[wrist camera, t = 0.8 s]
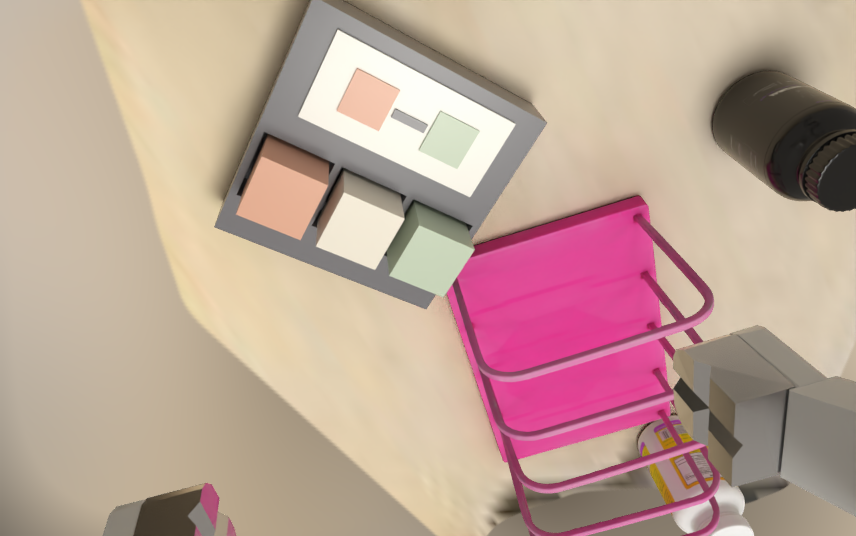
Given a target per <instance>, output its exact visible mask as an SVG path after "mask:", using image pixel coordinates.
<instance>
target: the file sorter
mask: <svg viewBox="0 0 856 536" xmlns="http://www.w3.org/2000/svg"><path fill="white" fill-rule="evenodd" d="M652 239H653V241H654V242H655V243H656V244H657V245H658V246H659V247H660V248H661V249H662V250H663V251H664V252H665V254H666V255H667V256H668V257H669V258H670V259H671V260H672V261H673V263H674V264H675V265H676V266H677V267H678V268H679V269H680V270H681V271H682V272H683V274H684V275H685V276H686V277H687V278H688V279H689V280H690V281H691V282H692V284H693V285H694V286H695V287H696V288H697V289H698V291H699V292H700V293H701V294H702V296H703V297H704V299H705V303H704V305H703V307H702V308H701V310H700V311H698V312H697V313H696V314H694V315H693V316H691V317H688V318H686V319H685V318H684V316H683V315H682V314H681V313H680V311H679V310H678V309H677V308H676V306H675V305H674V304H673V303H672V301H671V300H670V299H669V298H668V296H667V295H666V294H665V293H664V291H663V290H662V289H661V288H660V286H659V285H658V284H657V279H656V269H655V260H654V251H653V242H652ZM474 249H475V250H474V252H473V253H472V255H471V256H470V258H469V259H468V261H467V263H466V264H465V266H464V267H463V269H462V270H461V272H460V273H459V275H458V276H457V278H456V279H455V281H454V282H453V284H452V285H451V287H450V288H449V290H448V291H447V295H448V298H449V301H450V304H451V308H452V311H453V314H454V317H455V319H456V322H457V325H458V328H459V331H460V334H461V337H462V340H463V343H464V346H465V349H466V352H467V355H468V358H469V361H470V364H471V366H472V369H473V372H474V375H475V378H476V381H477V385H478V388H479V391H480V394H481V397H482V399H483V402H484V405H485V408H486V411H487V414H488V417H489V420H490V423H491V426H492V429H493V432H494V435H495V438H496V441H497V444H498V447H499V450H500V453H501V456H502V459H503V461H504V462H508V464H509V468H510V472H511V476H512V480H513V484H514V488H515V491H516V495H517V499H518V502H519V506H520V509H521V513H522V516H523V519H524V521H525V524H526V526H527V527H528V530H529V533H530V536H586V535H590V534H594V533H597V532H602V531H606V530H609V529H613V528H617V527H621V526H624V525H628V524H632V523H635V522H639V521H643V520H646V519H650V518H654V517H657V516H661V515H665V514H668V513H672V512H675V511H679V510H682V509H686V508H689V507H692V506H696V505H699V504H702V503H704V502H706V501H708V500H709V502H710V504H711V506H712V509H713V516H712V520H711V522H710V523H709V524H708V525H707V526H706V527H705V528H703V529H701V530H699V531H696V532H693V533H689V534H686V535H683V536H708V535H710V534H711V533H712V532H713V531H714V530H715V529H716V527H717V525H718V523H719V519H720V510H719V506H718V503H717V501H716V499H715V497H714V495H715V494H716V492H717V490H718V489H719V485H720V473H719V472H718V470H717V469H716V468H715V467H714V466H713V464H712V463H711V462H710V461H709V459H708V448H707V447H706V445H704V444H701V443H699V442H696V441H694V440H692V441H689V442H686V443H683V442H682V440H681V438H680V436H679V435H678V433H677V432H676V430H675V428H674V426H673V425H672V423H671V421H670V420H669V418H668V417H669V416H670V414H671V410H670V401H671V403H672V404H673V406H674V408H675V405H674V391H673V390H672V389H671V388H670V386H669V385H668V382H667V371H666V363H665V354H664V349H665V351H666V352H667V353H668V354H669V356H670V357H671V358H672V360H673V356H674V354H675V350H674V348H673V347H672V346H671V344H670V343H669V342H668V341H667V339H666V338H665V337H666V336H669V335H672V334H675V333H678V332H681V331H685V333H686V334H687V335H688V336H689V338H690V339H691V340H692V342H693V343H694V344H697V343H701V342H703V340H702V339H701V338H700V337H699V335H698V334H697V333H696V331H695V330H694V329H693V328H692V327H694V326H696V325H698V324H700V323H701V322H703V321H704V320H705V319H706V318H708V316H709V315H710V314H711V312H712V310H713V307H714V298H713V294H712V292H711V290H710V288H709V287H708V286H707V285H706V283H705V282H704V281H703V280H702V279H701V278H700V277H699V276H698V275H697V273H696V272H695V271H694V270H693V269H692V268H691V267H690V266H689V265H688V264H687V263H686V262H685V260H684V259H683V258H682V257H681V256H680V255H679V254H678V253H677V252H676V251H675V250H674V249H673V248H672V247H671V246H670V245H669V243H668V242H667V241H666V240H665V239H664V238H663V237H662V236H661V235H660V234H659V233H658V232H657V231H656V230H655V229H654V228H653V227H652V226H651V224H650V216H649V208H648V205H647V204H646V203H645V201H644V200H643V199H642V198H641V197H640V196H637V197H633V198H630V199H626V200H623V201H620V202H617V203H613V204H610V205H607V206H604V207H600V208H597V209H594V210H591V211H587V212H584V213H581V214H578V215H574V216H571V217H568V218H564V219H561V220H558V221H555V222H551V223H548V224H545V225H541V226H538V227H535V228H532V229H528V230H525V231H521V232H518V233H515V234H511V235H508V236H505V237H501V238H498V239H495V240H492V241H488V242H485V243H482V244H479V245H475V246H474ZM659 300H660V301H661V302H662V304H663V305H664V306H665V307H666V308H667V309H668V311H669V312H670V313H671V315H672V316H673V317H674V319H675V320H676V321H677V322H674V323H671V324H668V325H665V326H662V325H661V316H660V307H659ZM675 409H676V408H675ZM659 419H662V420H663V422H664V424H665V425H666V427H667V429H668V430H669V432H670V434H671V435H672V437H673V439H674V441H675V442H676V444H677V446H674V447H671V448H668V449H665V450H662V451H659V452H656V453H653V454H650V455H647V456H644V457H641V458H637V459H634V460H631V461H628V462H625V463H622V464H618V465H615V466H611V467H608V468H606V469H603V470H599V471H595V472H592V473H590V474H586V475H583V476H579V477H576V478H573V479H569V480H566V481H563V482H560V483H554V484H541V483H537V482H534V481H532V480H530V479H529V478H527V477H526V476H525V475H524V473H523V471H522V469H521V467H520V464H519V462H518V459H520V458H524V457H528V456H531V455H535V454H538V453H542V452H545V451H549V450H553V449H556V448H560V447H563V446H567V445H571V444H574V443H578V442H581V441H585V440H589V439H592V438H596V437H599V436H603V435H606V434H610V433H613V432H617V431H620V430H624V429H627V428H631V427H634V426H638V425H641V424H645V423H649V422H652V421H656V420H659ZM696 449H700V451H701V453H702V454H703V456H704V458H705V459H706V461H707V463H708V465H709V467H710V469H711V471H712V473H713V481H712V484H711V486H710V487H709V486H708V484H707V483H706V481H705V479H704V477H703V475H702V474H701V472H700V470H699V469H698V467H697V465H696V464H695V462H694V460H693V458H692V457H691V455H690V453H689V452H690V451H693V450H696ZM681 454H683V456H684V458H685V460H686V461H687V463H688V465H689V466H690V468H691V470H692V472H693V473H694V475H695V477H696V479H697V480H698V482H699V484H700V486H701V487H702V489H703V491H704V492H703V493H702V494H700V495H697V496H695V497H692V498H687V499H684V500H680V501H678V502H673V503H670V504H666V505H663V506H660V507H656V508H652V509H648V510H644V511H641V512H637V513H633V514H630V515H626V516H622V517H618V518H614V519H612V520H608V521H604V522H599V523H596V524H593V525H589V526H585V527H580V528H576V529H573V530H570V531H566V532H561V533H549V532H545V531H543V530H540V529H539V528H537V527H536V526H535V525H534V524H533V523H532V520H531V515H530V512H529V509H528V505H527V501H526V498H525V494H524V490H523V486H522V484H523V485H524V486H526V487H527V488H529V489H531V490H533V491H536V492H540V493H557V492H561V491H564V490H568V489H571V488H575V487H578V486H582V485H585V484H588V483H592V482H595V481H599V480H602V479H605V478H608V477H611V476H615V475H618V474H621V473H625V472H628V471H631V470H634V469H637V468H640V467H644V466H647V465H650V464H653V463H656V462H659V461H662V460H666V459H669V458H672V457H675V456H678V455H681Z"/></svg>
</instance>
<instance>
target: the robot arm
mask: <svg viewBox="0 0 856 536" xmlns="http://www.w3.org/2000/svg"><path fill="white" fill-rule="evenodd" d="M673 369H674V370H675V371H676V372H677V374H678V375H679V376H680V377H681V378H680V379H679V381H678V382H677V384H676V385H675V387H674V388H673V391H674V405H675V408H676V411H677V414H678V417H679V420H680V422H681V423H682V425H683V427H684V429H685V430H686V432H687V433H688V434H689V435H690V437H691V438H692V439H693V440H694V441H696V442H699V443H701V444H704V445H706V446H708V459H709V461H710V462H711V463H712V464H713V466H714V467H715V468H716V469H717V470H718V472H719V473H720V474H721V475H722V477H723V478H724V479H725V480H726V481H727V483H728V484H729V485H730V486H731V487H735V486H739V485H743V484H746V483H750V482H754V481H757V480H761V479H765V478H768V477H772V476H776V475H779V474H780V477H781V478H783V479H785V480H787V481H789V482H791V483H793V484H795V485H797V486H799V487H800V488H802V489H804V490H806V491H808V492H810V493H812V494H814V495H816V496H818V497H820V498H821V499H823V500H825V501H827V502H829V503H831V504H833V505H835V506H837V507H838V508H840V509H842V510H844V511H846V512H848V513H850V514H852V515H854V516H856V382H854V381H851V380H848V379H844V378H841V377H838V376H835V377H831V378H827V377H825V376H824V375H823V374H822V373H821V372H819V371H818V370H817V369H816V368H814V367H813V366H812V365H811V364H809V363H808V362H807V361H806V360H804V359H803V358H802V357H801V356H800V355H798V354H797V353H796V352H795V351H793V350H792V349H791V348H790V347H788V346H787V345H786V344H785V343H783V342H782V341H781V340H780V339H779V338H777V337H776V336H775V335H774V334H772V333H771V332H770V331H769V330H767V329H766V328H765V327H762V326H758V325H756V326H753V327H750V328H746V329H743V330H740V331H736V332H733V333H730V334H729V335H725V336H721V337H718V338H714V339H711V340H707V341H704V342H701V343H697V344H694V345H690V346H687V347H683V348H680V349H677V350H676V351H675V354H674V356H673ZM218 504H219V497H218V495H217V493H216V491H215V490H214V488H213V486H212V485H211V484H208V483H204V484H200V485H196V486H192V487H189V488H185V489H181V490H177V491H173V492H169V493H166V494H161V495H158V496H154V497H150V498H147V499H146V500H141V501H137V502H133V503H129V504H125V505H121V506H118V507H116V508H115V509H114V510H113V511H112V512H111V513H110V515H109V518H108V521H107V524H106V527H105V530H104V533H103V536H236V533H235V530H234V527H233V525H232V522H231V520H230V519H229V517H228V516H226V515H224V514H222V513H219V512H218Z"/></svg>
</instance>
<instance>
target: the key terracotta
mask: <svg viewBox="0 0 856 536" xmlns="http://www.w3.org/2000/svg"><path fill="white" fill-rule="evenodd" d="M328 179H329V161H328V160H326V159H323V158H321V157H319V156H317V155H315V154H312V153H310V152H308V151H306V150H304V149H301V148H299V147H297V146H295V145H293V144H290V143H288V142H286V141H284V140H281V139H279V138H277V137H275V136H273V135H270V134H268V135H267V137H266V139H265V141H264V144H263V146H262V148H261V150H260V153H259V155H258V157H257V160H256V162H255V164H254V166H253V169H252V171H251V173H250V175H249V178H248V180H247V182H246V184H245V187H244V189H243V193H242V196H241V199H240V203H239V206H238V209H237V212H236V215H238V216H241V217H243V218H246V219H248V220H251V221H253V222H256V223H258V224H261V225H263V226H266V227H268V228H271V229H273V230H276V231H278V232H281V233H283V234H286V235H288V236H291V237H293V238H296V239H298V240H301V238H302V236H303V234H304V232H305V230H306V228H307V226H308V224H309V222H310V220H311V218H312V217H313V215H314V213H315V211H316V209H317V207H318V205H319V203H320V201H321V199H322V197H323V195H324V193H325V191H326V189H327V187H328Z"/></svg>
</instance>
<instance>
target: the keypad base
mask: <svg viewBox="0 0 856 536" xmlns="http://www.w3.org/2000/svg"><path fill="white" fill-rule="evenodd" d="M546 124H547V122H546V121H545V120H544V118H543V117H542V116H541V114H540V113H539V112H538V111H537V109H536V108H535V107H534V106H533V104H531V103H529V102H527V101H525V100H524V99H522V98H520V97H518V96H516V95H514V94H513V93H511V92H509V91H507V90H505V89H504V88H502V87H500V86H498V85H496V84H494V83H493V82H491V81H489V80H487V79H485V78H484V77H482V76H480V75H478V74H476V73H474V72H473V71H471V70H469V69H467V68H465V67H463V66H462V65H460V64H458V63H456V62H454V61H453V60H451V59H449V58H447V57H445V56H443V55H442V54H440V53H438V52H436V51H434V50H433V49H431V48H429V47H427V46H425V45H423V44H422V43H420V42H418V41H416V40H414V39H413V38H411V37H409V36H407V35H405V34H403V33H402V32H400V31H398V30H396V29H394V28H393V27H391V26H389V25H387V24H385V23H383V22H382V21H380V20H378V19H376V18H374V17H372V16H371V15H369V14H367V13H365V12H363V11H362V10H360V9H358V8H356V7H354V6H352V5H351V4H349V3H347V2H345V1H343V0H310V1H309V3H308V6H307V8H306V10H305V13H304V15H303V17H302V20H301V22H300V24H299V27H298V29H297V31H296V34H295V36H294V38H293V41H292V43H291V45H290V48H289V50H288V52H287V54H286V57H285V59H284V61H283V64H282V66H281V68H280V71H279V73H278V75H277V78H276V80H275V82H274V85H273V87H272V89H271V92H270V94H269V96H268V99H267V101H266V103H265V106H264V108H263V110H262V113H261V115H260V117H259V120H258V122H257V124H256V127H255V129H254V131H253V134H252V136H251V138H250V141H249V143H248V145H247V148H246V150H245V152H244V155H243V157H242V159H241V162H240V164H239V166H238V168H237V171H236V173H235V175H234V178H233V180H232V182H231V185H230V187H229V189H228V192H227V194H226V196H225V199H224V201H223V204H222V207H221V209H220V212H219V215H218V218H217V221H216V223H215V226H214V227H215V228H218V229H220V230H223V231H226V232H228V233H231V234H233V235H236V236H238V237H241V238H244V239H246V240H249V241H251V242H254V243H256V244H259V245H262V246H264V247H267V248H269V249H272V250H275V251H277V252H280V253H282V254H285V255H287V256H290V257H293V258H295V259H298V260H300V261H303V262H305V263H308V264H311V265H313V266H316V267H318V268H321V269H323V270H326V271H329V272H331V273H334V274H336V275H339V276H341V277H344V278H347V279H349V280H352V281H354V282H357V283H360V284H362V285H365V286H367V287H370V288H372V289H375V290H378V291H380V292H383V293H385V294H388V295H390V296H393V297H396V298H398V299H401V300H403V301H406V302H408V303H411V304H414V305H416V306H419V307H421V308H424V309H427V307H428V306H429V304H430V303H431V301H432V300H433V298H434V297H435V295H436V294H434V293H431V292H429V291H426V290H424V289H421V288H419V287H416V286H414V285H411V284H409V283H406V282H404V281H401V280H399V279H396V278H394V277H391V276H389V270H388V261H387V252H385V254H384V256H383V257H382V259H381V261H380V262H379V264H378V266H377V268H376V269H375V270H374V269H371V268H369V267H366V266H364V265H361V264H359V263H356V262H353V261H351V260H348V259H346V258H343V257H341V256H338V255H336V254H333V253H331V252H328V251H326V250H323V249H321V248H318V247H316V237H317V223H318V217H319V215H320V213H321V211H322V210H323V208H324V206H325V204H326V202H327V200H328V198H329V196H330V194H331V192H332V190H333V188H334V186H335V184H336V182H337V180H338V178H339V176H340V174H341V172H342V171H343V169H344V168H346V169H348V170H350V171H352V172H354V173H357V174H359V175H361V176H363V177H366V178H368V179H370V180H372V181H374V182H377V183H379V184H381V185H383V186H385V187H388V188H390V189H392V190H394V191H396V192H399V193H400V195H401V200H402V206H403V212H404V215H405V213H406V212H407V210H408V208H409V206H410V205H411V203H412V201H413V200H416V201H419V202H421V203H423V204H425V205H427V206H430V207H432V208H434V209H436V210H439V211H441V212H443V213H445V214H447V215H450V216H452V217H454V218H456V219H458V220H461V221H463V222H465V223H466V225H467V228H468V231H469V234H470V237H471V240H472V238H473V236H474V235H475V233H476V232H477V230H478V229H479V227H480V226H481V224H482V223H483V221H484V220H485V218H486V216H487V215H488V213H489V212H490V210H491V209H492V207H493V206H494V204H495V203H496V201H497V199H498V198H499V196H500V195H501V193H502V192H503V190H504V189H505V187H506V186H507V184H508V183H509V181H510V179H511V178H512V176H513V175H514V173H515V172H516V170H517V169H518V167H519V166H520V164H521V162H522V161H523V159H524V158H525V156H526V155H527V153H528V152H529V150H530V149H531V147H532V146H533V144H534V142H535V141H536V139H537V138H538V136H539V135H540V133H541V132H542V130H543V129H544V127H545V126H546ZM268 134H270V135H273V136H275V137H277V138H279V139H281V140H284V141H286V142H288V143H290V144H293V145H295V146H297V147H299V148H301V149H304V150H306V151H308V152H310V153H312V154H315V155H317V156H319V157H321V158H323V159H326V160H328V161H329V179H328V187H327V189H326V191H325V193H324V195H323V197H322V199H321V201H320V203H319V205H318V207H317V209H316V211H315V213H314V215H313V217H312V218H311V220H310V222H309V224H308V226H307V228H306V230H305V232H304V234H303V236H302V238H301V240H298V239H296V238H293V237H291V236H288V235H286V234H283V233H281V232H278V231H276V230H273V229H271V228H268V227H266V226H263V225H261V224H258V223H256V222H253V221H251V220H248V219H246V218H243V217H241V216H238V215H236V212H237V209H238V206H239V203H240V199H241V196H242V193H243V189H244V187H245V184H246V182H247V180H248V178H249V175H250V173H251V171H252V169H253V166H254V164H255V162H256V160H257V157H258V155H259V153H260V150H261V148H262V146H263V144H264V141H265V139H266V137H267V135H268Z"/></svg>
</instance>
